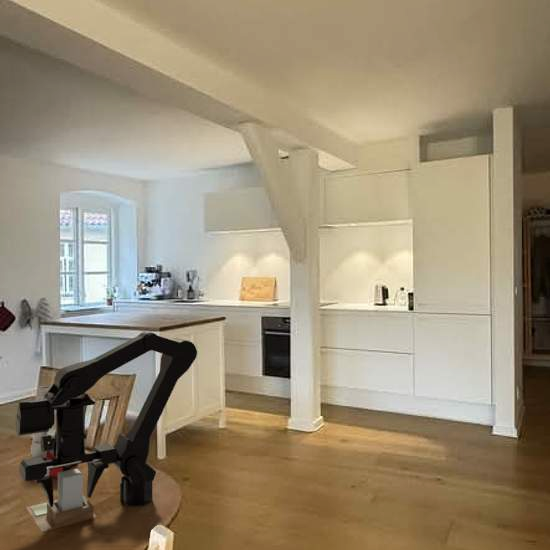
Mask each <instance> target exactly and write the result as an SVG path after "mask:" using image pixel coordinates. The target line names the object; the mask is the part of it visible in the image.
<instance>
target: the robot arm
mask: <svg viewBox="0 0 550 550" xmlns="http://www.w3.org/2000/svg"><path fill="white" fill-rule="evenodd" d="M150 351H153V352H156V353H160V354H162V355H161V357H160V365H159V371H158V374H157V377H156V378H155V381H154V382H153V384H152V387H151V388H150V391H149V393H148V395H147V397H146V399H145V401H144V403H143V405H142V407H141V410H140V412H139V414H138V416H137V417H136V419H135V421H134V424H133V426H132V428H131V429H130V430H129V431H128V432H127V433H125V435H124V434H123V433H119V434H118V436H117V438H116V442H115V443H114V445H113V446H112V445H111V444H110V443H103V444H98V445H94V446H93V447H92V449H91V451H89V452H86V439H87V432H86V406H87V407H88V406H93V405H95V404H96V401H95V400H93V399H92V398H91V396H90V395H89V394H88V393H87V392H88V391H89V390H91V388H93V387H94V386H95V385H96V384H97V383H98V382H99V381H100V380H101V379H102V378H103V377H104V376H105V375H107V374H110V373H111V372H114V371H115V370H116V369H119V368H121V367H123V366H124V365H126V364H128V363H129V362H131V361H133V360H135V359H137V358H139V357H141V356H143V355H144V354H147V353H149V352H150ZM197 355H198V350H197V347H196V345H195V344H194V342H192V341H190V340H187V339H182V338H178V337H177V338H172V339H170V338H166V337H163V336H160V335H158V334H156V333H154V332H150V331H143V332H141V333H139V334H138V335H137V336H134V337H133V338H131V339H128V340H127V341H126V342H123V343H121V344H119V345H117V346H116V347H114V348H112V349H110V350H108V351H105V352H104V353H102V354H100V355H98V356H96V357H94V358H92V359H89V360H85V361H81V362H76V363H74V364H71V365H68V366H67V365H66V366H64V367H62V368H60V369H59V370H58V371H57V372H55V373H56V374H55V376H54V378H53V383H52V385H51V386H50V387H51V388H50V389H49V390H48V392H47V393H46V394H45V396H44V399H38V400H35V399H31V400H29V399H23V400H18V405H17V409H16V414H15V430H16V435H17V437H19V436H26V435H33V434H34V433H41V432H48V431H49V429H50V428H52V426H53V425H54V426H55V429H56V431H55V438H54V439H52V437H51V435H48V436H42V437H41V451H42V452H45V451H50V455H52V456H53V457H56V459H53V460H48V461H46V460H45V459H42V457H41V456H40V457H35V458H33V457H30V458H25V459H22V461H20V464H19V474H20V475H21V477H22V478H23V480H24V481H25V482H30V481H31V482H32V481H34V482H36V483H37V484H41V486H42V488H43V491H44V493H45V494H44V495H45V496H46V497H45V498H46V499H47V502H49V505H50V507H53V502H54V499H55V498H54V487H53V486H54V482H53V480H54V478H52V477H51V476H50V475H49V470H51V469H56V468H61V467H66V466H71V465H76V464H78V465H79V464H80V465H81V464H84V463H87V470H88V472H87V480H86V481H87V482H86V483H87V484H86V485H87V486H86V498H87V499H90V498H91V497H92V495H93V492H94V491H95V488H96V486H97V484H98V482H99V480H100V478H101V476H102V475H103V472H104V471H105V469H109V465H111V464H113V465H114V467H115V468H116V469H117V471H119V472H120V474H121V475H123V476H122V477H121V478H120V479H121V483H120V484H119V500H120V501H121V502H122V503H123V504H124V505H126V506H128V507H137V506H141V507H143V506H146V505H148V504H149V503H151V502H152V501H153V481H154V480H155V477H156V474H157V473H156V472H157V471H156V470H155V469H154V468H153V467H151V466H150V464H148V463H147V460H148V457H149V454H150V447H151V446H150V444H151V437H152V435H153V433H154V431H155V429H156V426H157V424H158V422H159V421H160V418H161V416H162V414H163V413H164V410H165V408H166V406H167V403H168V401H169V399H170V397H171V395H172V393H173V390H174V389H175V386H176V385H177V383H178V381H179V379H180V378H181V377H182V376H183V375H184V374H185V373H187V372H188V371H189V369H190V367H191V366H192V365H193V363H194V362H195V361H196V358H197ZM54 410H56V414H55V415H54ZM54 422H55V423H54Z"/></svg>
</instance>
